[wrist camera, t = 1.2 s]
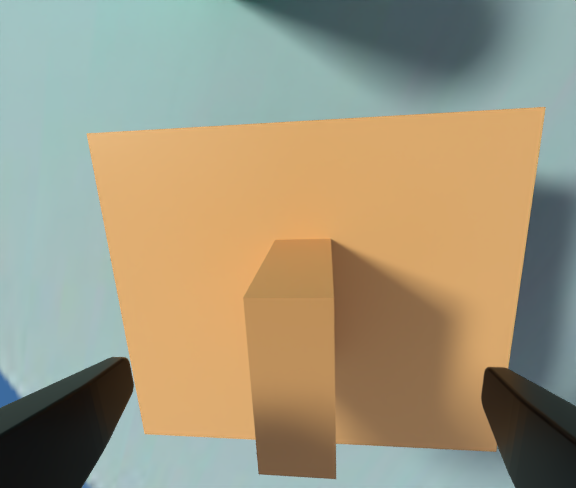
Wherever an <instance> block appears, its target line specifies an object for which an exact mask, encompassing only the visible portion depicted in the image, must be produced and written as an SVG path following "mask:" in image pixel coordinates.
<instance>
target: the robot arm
mask: <svg viewBox="0 0 576 488" xmlns="http://www.w3.org/2000/svg"><path fill="white" fill-rule="evenodd" d="M133 387H134V384H133V378H132V373H131V368H130V363H129V360H128V359H127V358H125V357H111V358H108V359H106V360H104V361H102V362H100V363H97V364H95V365H93V366H91V367H89V368H86V369H84V370H82V371H80V372H78V373H75V374H73V375H71V376H69V377H67V378H65V379H62V380H60V381H58V382H56V383H54V384H51V385H49V386H47V387H45V388H43V389H40V390H38V391H36V392H34V393H32V394H30V395H27V396H25V397H23V398H21V399H19V400H17V401H14V402H12V403H10V404H8V405H6V406H3V407H1V408H0V488H82V486H83V485H84V483H85V481H86V480H87V478H88V476H89V475H90V473H91V471H92V470H93V468H94V466H95V465H96V463H97V461H98V460H99V458H100V456H101V455H102V453H103V451H104V449H105V447H106V445H107V444H108V442H109V440H110V438H111V436H112V434H113V432H114V430H115V427H116V425H117V423H118V421H119V419H120V417H121V415H122V413H123V411H124V409H125V407H126V405H127V403H128V401H129V399H130V397H131V395H132V392H133ZM481 401H482V406H483V409H484V412H485V414H486V417H487V419H488V422H489V425H490V427H491V430H492V432H493V435H494V438H495V440H496V443H497V445H498V448H499V451H500V453H501V456H502V458H503V461H504V463H505V466H506V468H507V471H508V473H509V475H510V477H511V479H512V482H513V484H514V486H515V488H576V406H574V405H573V404H571V403H569V402H567V401H565V400H564V399H562V398H560V397H558V396H556V395H555V394H553V393H551V392H549V391H547V390H546V389H544V388H542V387H540V386H538V385H536V384H535V383H533V382H531V381H529V380H527V379H526V378H524V377H522V376H520V375H518V374H517V373H515V372H513V371H511V370H509V369H508V368H505V367H487V368H486V369H485V371H484V377H483V385H482V393H481Z"/></svg>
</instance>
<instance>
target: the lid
mask: <svg viewBox="0 0 576 488" xmlns="http://www.w3.org/2000/svg"><path fill="white" fill-rule="evenodd" d="M545 108H546V107H537V108H520V109H503V110H485V111H468V112H451V113H433V114H416V115H399V116H382V117H364V118H347V119H330V120H312V121H295V122H278V123H260V124H243V125H226V126H209V127H191V128H174V129H157V130H139V131H122V132H105V133H87V138H88V143H89V148H90V153H91V159H92V164H93V169H94V174H95V179H96V184H97V190H98V195H99V200H100V205H101V210H102V216H103V221H104V226H105V231H106V236H107V241H108V247H109V252H110V257H111V262H112V267H113V272H114V278H115V283H116V288H117V293H118V298H119V303H120V309H121V314H122V319H123V324H124V329H125V335H126V340H127V345H128V350H129V355H130V360H131V366H132V371H133V376H134V381H135V386H136V391H137V397H138V402H139V407H140V412H141V417H142V422H143V428H144V433H145V434H155V435H174V436H194V437H214V438H234V439H254V440H256V449H257V460H258V471H259V474H264V475H280V476H296V477H312V478H328V479H336V444H353V445H373V446H393V447H413V448H433V449H453V450H473V451H493V452H496V450H497V443H496V440H495V438H494V435H493V432H492V430H491V427H490V425H489V422H488V419H487V417H486V414H485V412H484V409H483V406H482V401H481V393H482V385H483V377H484V371H485V369H486V368H487V367H505V368H508V366H509V359H510V352H511V345H512V338H513V331H514V324H515V317H516V310H517V303H518V296H519V289H520V282H521V275H522V268H523V261H524V254H525V247H526V240H527V233H528V226H529V219H530V212H531V205H532V198H533V191H534V184H535V177H536V170H537V164H538V157H539V150H540V143H541V136H542V129H543V122H544V115H545Z"/></svg>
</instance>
